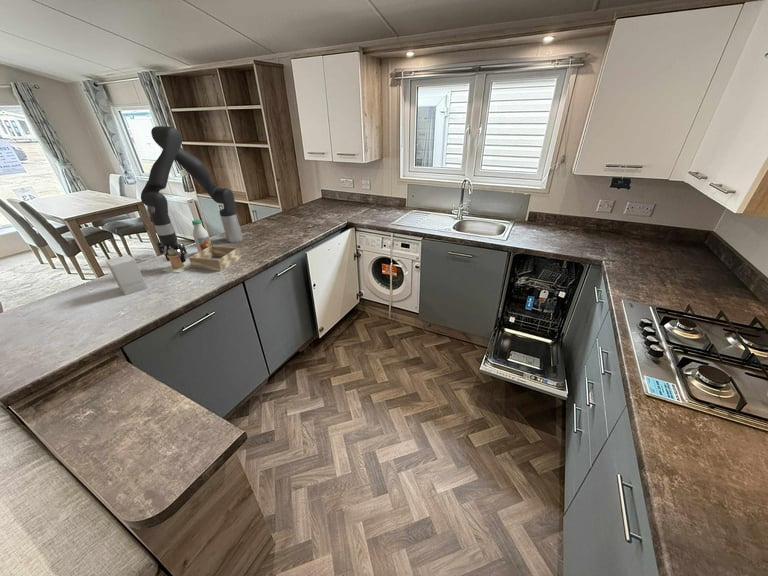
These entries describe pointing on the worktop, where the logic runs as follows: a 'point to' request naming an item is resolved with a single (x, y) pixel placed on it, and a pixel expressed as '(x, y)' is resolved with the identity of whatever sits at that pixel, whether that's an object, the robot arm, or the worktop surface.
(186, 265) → the sage mat
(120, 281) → the supplement box
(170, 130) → the robot arm
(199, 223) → the milk bottle
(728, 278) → the worktop surface
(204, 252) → the wooden shadow box
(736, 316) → the worktop surface
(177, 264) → the terracotta pot
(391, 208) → the worktop surface
